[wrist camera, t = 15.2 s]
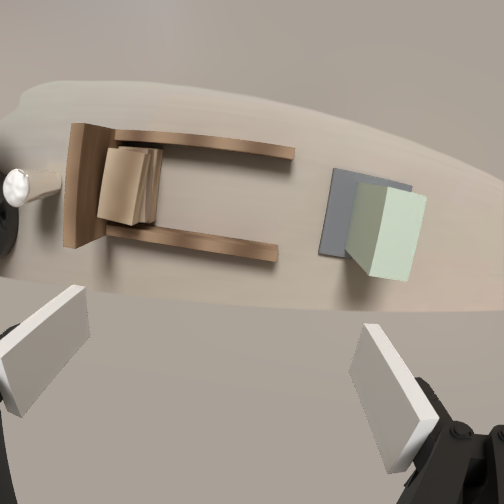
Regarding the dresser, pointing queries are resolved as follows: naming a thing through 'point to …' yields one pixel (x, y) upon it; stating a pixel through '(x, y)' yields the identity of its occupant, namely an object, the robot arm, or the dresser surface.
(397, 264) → the block
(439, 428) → the robot arm
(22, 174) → the milkshake
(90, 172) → the rack
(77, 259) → the dresser surface
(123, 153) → the offcut stack
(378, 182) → the rubber pad
